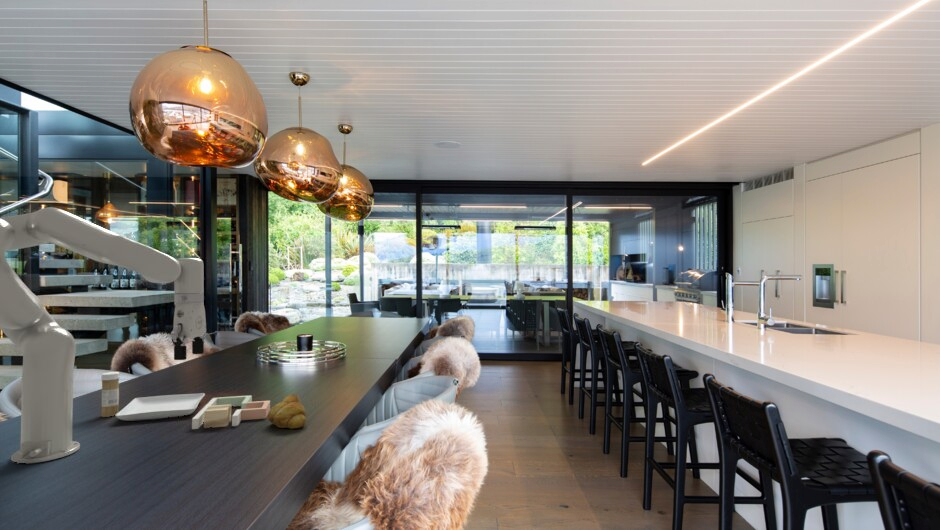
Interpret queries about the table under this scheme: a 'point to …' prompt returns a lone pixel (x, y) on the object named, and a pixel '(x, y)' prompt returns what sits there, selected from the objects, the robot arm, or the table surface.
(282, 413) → the bread roll
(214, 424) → the block
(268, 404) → the pastel wall shelf
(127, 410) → the salad plate
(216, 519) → the table surface
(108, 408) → the sprinkles bottle
